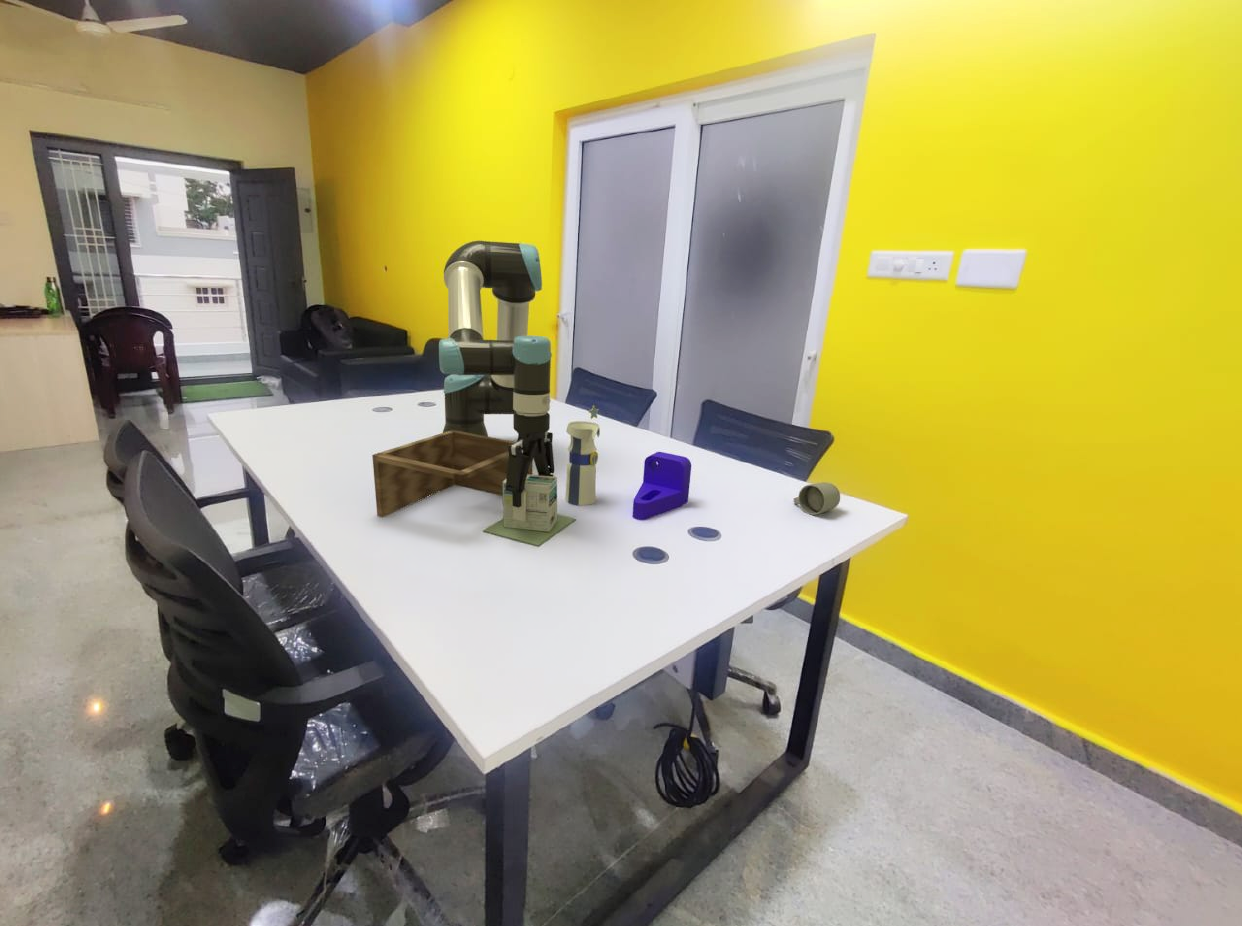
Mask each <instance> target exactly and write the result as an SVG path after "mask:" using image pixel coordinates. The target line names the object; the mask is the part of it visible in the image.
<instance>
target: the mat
mask: <svg viewBox="0 0 1242 926" xmlns="http://www.w3.org/2000/svg"><path fill="white" fill-rule="evenodd" d="M575 521H577V518H574V517H570V516H566V515H563V514H558V513H557V521H556V523H555V524H554V526H553V527H552V529H551V530H550V532H546V531H536V530H526V529H517V528H507V527H504V525H503V518H501V519H500V520H498V521H497V522H495V523H492V524H491V525H489V526H488V527H486V528H484V529H483V530H482V533H485V534H489V535H493V536H496V537H500V538H504V539H507V540H511V541H514V542H518V543H523V544H525V545H528V546H529V545H530V546H533V547H536V548H540V547H541V546H542V545H543V544H545V543H546V542H548V541H549V540H551V539H552V538H553V537H554V536H556V535H557V534H559V533H560V532H561V531H563V530H564V529H566V528H567V527H569V526H570V525H572V523H575Z"/></svg>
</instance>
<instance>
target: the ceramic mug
mask: <svg viewBox="0 0 1242 926" xmlns="http://www.w3.org/2000/svg"><path fill="white" fill-rule="evenodd" d="M840 502H841V493H840V490H839V489H838V487H837V486H836V485H834V483H830V482H826V481H825V482H817V483H810V484H806V485H805V486H803V487H802V488H801V489H800V491H799V493H798V497H793V503H794V505H799V507H800V508H801V510H802V511H803V512H804V513H806V514H808V515H811V516H817V515H820V514H823V513H826V512H829V511H831V510H833V509H834V510H835V508H837V506H838V505H839V504H840Z"/></svg>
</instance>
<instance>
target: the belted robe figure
mask: <svg viewBox="0 0 1242 926" xmlns="http://www.w3.org/2000/svg"><path fill="white" fill-rule="evenodd" d="M599 410H600V409H599V408H596V407H595V405H592V408H591V409H590V410H588V413H589V414H590V420H592V419H593V418H596V419H598V415H597V413H598V412H600V411H599ZM565 431H566V433H567V434H568V435H570V443H569V446H568V447H567V450H568V451H569V453H568V454H569V457H568V458H569V459H568V462H567V466H566V483H565V493H564V494H565V495H564V500H565V502H566V503H568V504H569V505H572V506H573V505H574V506H583V507H584V506H590V505H593V504H595V503H596V501H597V499H596V481H597V480H596V479H597V478H596V475H597V470H596V469H597V468H596V465H597V463H598V461H599V454H598V452H597V450H598V449H597V448H596V447H597V446H596V445H595V438H596V436H597V438H599V437H600V434H601V432H600V431H601V430H600V425H599V424H598V423H596V422H591V421H586V420H585V421H583V420H581V421H580V420H578V421H572V422H569V423H568V424H567V426H566V430H565Z"/></svg>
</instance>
